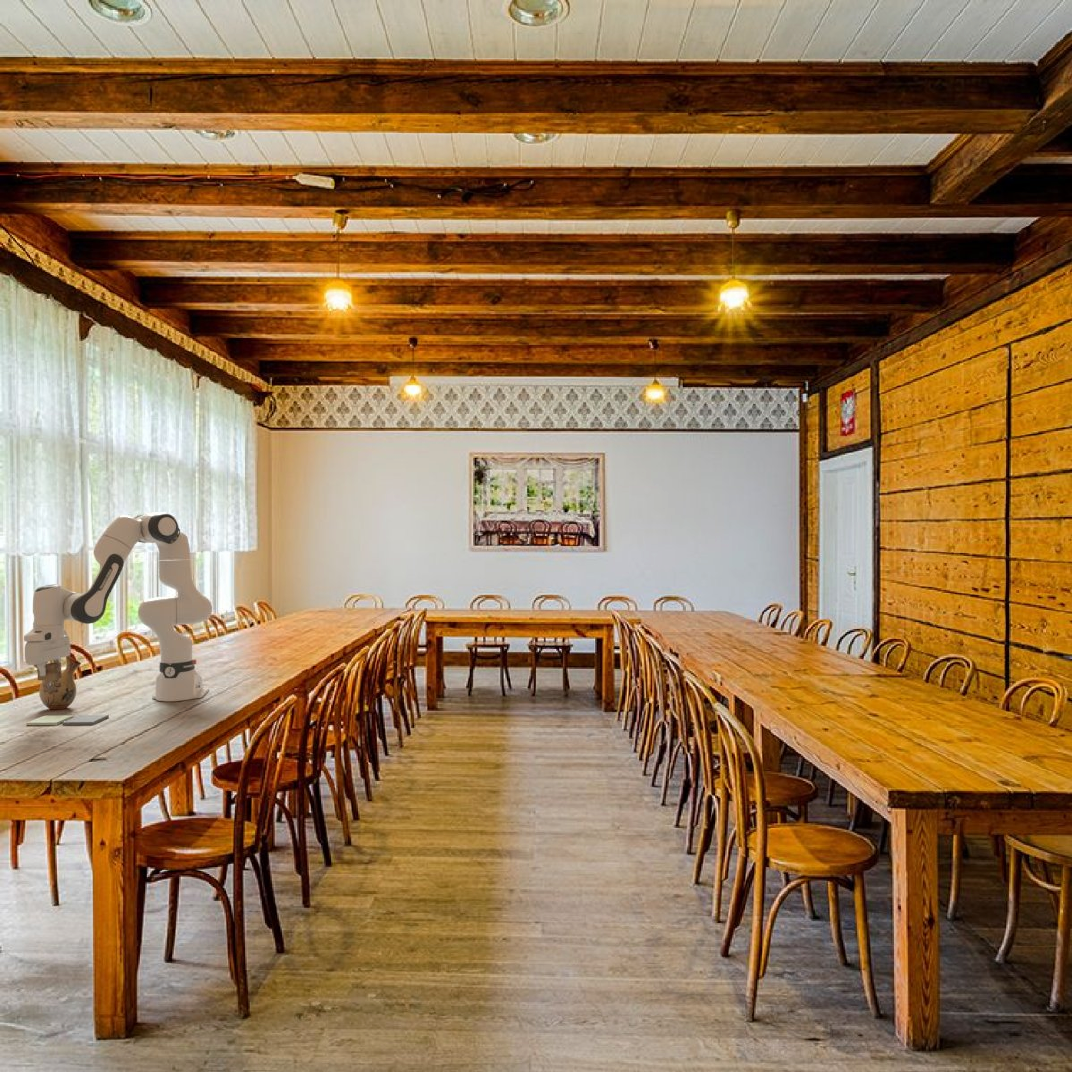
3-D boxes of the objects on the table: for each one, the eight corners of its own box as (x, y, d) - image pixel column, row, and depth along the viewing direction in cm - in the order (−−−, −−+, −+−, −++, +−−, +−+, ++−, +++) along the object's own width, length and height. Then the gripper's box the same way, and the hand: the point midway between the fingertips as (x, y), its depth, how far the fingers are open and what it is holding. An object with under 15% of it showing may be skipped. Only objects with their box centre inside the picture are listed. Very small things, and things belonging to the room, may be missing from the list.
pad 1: (44, 718, 276) (44, 715, 276) (73, 718, 276) (73, 715, 276) (26, 725, 266) (26, 722, 266) (56, 725, 266) (56, 722, 266)
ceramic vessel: (87, 705, 296) (86, 637, 296) (75, 711, 287) (74, 641, 287) (41, 706, 295) (40, 638, 295) (27, 712, 286) (26, 642, 286)
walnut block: (46, 677, 273) (46, 663, 273) (61, 677, 273) (61, 662, 273) (37, 680, 268) (37, 665, 268) (52, 680, 268) (52, 665, 268)
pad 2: (79, 718, 276) (79, 715, 276) (108, 717, 276) (108, 714, 276) (62, 725, 266) (62, 722, 266) (92, 725, 266) (92, 722, 266)
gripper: (57, 629, 281) (58, 668, 281) (20, 637, 261) (21, 679, 261) (75, 629, 281) (76, 668, 281) (39, 636, 261) (40, 679, 261)
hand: (49, 674), depth 271 cm, fingers closed on walnut block, 5 cm apart
